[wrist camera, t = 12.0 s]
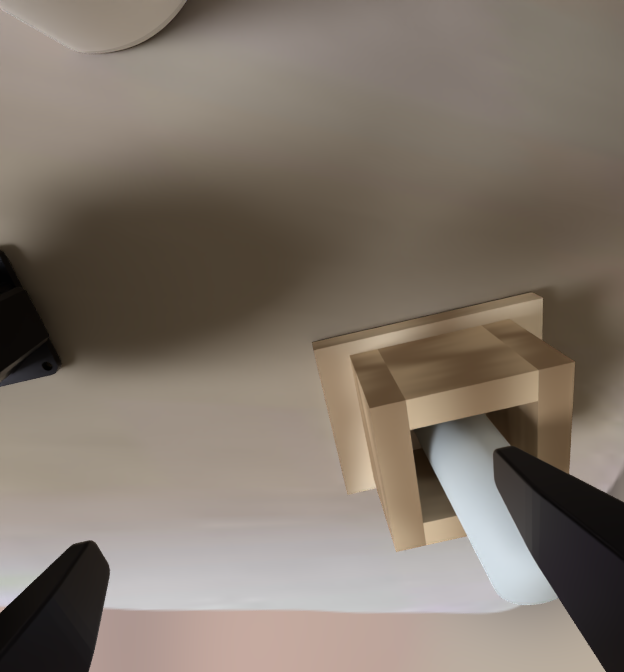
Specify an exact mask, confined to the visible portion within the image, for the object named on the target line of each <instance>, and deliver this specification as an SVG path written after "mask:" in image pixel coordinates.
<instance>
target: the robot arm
mask: <svg viewBox="0 0 624 672" xmlns="http://www.w3.org/2000/svg"><path fill="white" fill-rule="evenodd" d="M46 362H49V363H51V364H52V367H50V366H48V365H47V364H46ZM61 365H62V363H61V360H60V358H59V356H58V354H57V353H56V351H55V349H54V347H53V345H52V343H51V341H50V339H49V334H48V332H47V330H46V328H45V326H44V324H43V323H42V321H41V319H40V317H39V315H38V313H37V311H36V309H35V307H34V305H33V303H32V301H31V299H30V298H29V296H28V294H27V292H26V290H24V289H23V287H22V285H21V283H20V282H19V280H18V278H17V276H16V274H15V272H14V270H13V268H12V266H11V264H10V262H9V260H8V259H7V257H6V255H5V254H4V252H2V251H1V250H0V387H1V386H5V385H9V384H14V383H18V382H23V381H27V380H31V379H36V378H40V377H44V376H49V375H52V374H55V373H56V372H57V371H58V370H59V369H60V368H61ZM493 469H494V481H495V484H496V487H497V489H498V491H499V493H500V495H501V497H502V499H503V501H504V503H505V505H506V507H507V509H508V511H509V513H510V515H511V517H512V519H513V521H514V523H515V525H516V527H517V528H518V530H519V532H520V534H521V536H522V538H523V540H524V542H525V544H526V546H527V548H528V550H529V552H530V554H531V555H532V557H533V559H534V560H535V562H536V564H537V565H538V567H539V568H540V570H541V572H542V573H543V575H544V576H545V578H546V579H547V581H548V582H549V584H550V586H551V587H552V589H553V590H554V592H555V593H556V595H557V596H558V598H559V599H560V601H561V602H562V604H563V606H564V607H565V609H566V610H567V612H568V613H569V615H570V617H571V618H572V620H573V621H574V623H575V624H576V626H577V627H578V629H579V631H580V632H581V634H582V635H583V637H584V638H585V640H586V641H587V643H588V645H589V646H590V647H591V649H592V651H593V652H594V654H595V655H596V657H597V658H598V660H599V662H600V663H601V665H602V666H603V668H604V669H605V671H606V672H624V502H622V501H620V500H619V499H616V498H615V497H613V496H611V495H609V494H607V493H605V492H603V491H601V490H599V489H597V488H595V487H593V486H591V485H589V484H587V483H585V482H583V481H582V480H580V479H578V478H576V477H574V476H572V475H570V474H568V473H566V472H564V471H562V470H560V469H558V468H556V467H554V466H552V465H550V464H548V463H546V462H545V461H543V460H541V459H539V458H537V457H535V456H533V455H531V454H529V453H527V452H525V451H523V450H521V449H519V448H517V447H515V446H506V447H501V448H497V449H495V450H494V452H493ZM109 576H110V569H109V564H108V562H107V561H106V559H105V557H104V556H103V554H102V552H101V551H100V549H99V547H98V546H97V544H96V543H95V542H94V541H90V540H89V541H84V542H80V543H76V544H73V545H72V546H70V547H69V548H68V549H67V550H66V551H65V552H64V553H63V554H62V555H61V556H60V557H59V558H58V559H56V560H55V561H54V562H53V563H52V564H51V565H50V566H49V567H48V568H47V569H46V570H45V571H44V572H43V573H42V574H41V575H40V576H39V577H38V578H36V579H35V580H34V581H33V582H32V583H31V584H30V585H29V586H28V587H27V588H26V589H25V590H24V591H23V592H22V593H21V594H20V595H19V596H18V597H17V598H15V599H14V600H13V601H12V602H11V603H10V604H9V605H8V606H7V607H6V608H5V609H4V610H3V611H2V612H1V613H0V672H89V668H90V665H91V661H92V657H93V654H94V650H95V645H96V641H97V636H98V631H99V626H100V621H101V616H102V611H103V606H104V601H105V596H106V591H107V586H108V581H109Z"/></svg>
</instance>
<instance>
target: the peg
mask: <svg viewBox="0 0 624 672" xmlns="http://www.w3.org/2000/svg"><path fill="white" fill-rule="evenodd" d="M413 430H414V432H415V434H416V436H417V438H418V440H419V442H420V444H421V446H422V448H423V450H424V452H425V454H426V456H427V458H428V460H429V462H430V464H431V466H432V468H433V470H434V472H435V474H436V475H437V477H438V479H439V481H440V483H441V485H442V487H443V489H444V491H445V493H446V495H447V497H448V499H449V501H450V503H451V505H452V507H453V509H454V511H455V513H456V515H457V517H458V519H459V521H460V523H461V525H462V527H463V529H464V530H465V532H466V534H467V536H468V538H469V540H470V542H471V544H472V546H473V548H474V550H475V552H476V554H477V556H478V558H479V560H480V562H481V564H482V566H483V568H484V570H485V572H486V574H487V576H488V578H489V580H490V582H491V584H492V585H493V587H494V589H495V591H496V593H497V594H498V595H499V596H500V597H501V598H503V599H504V600H506V601H508V602H511V603H514V604H520V605H535V604H541V603H546V602H549V601H553V600H555V599H558V596H557V595H556V593H555V592H554V590H553V589H552V587H551V586H550V584H549V582H548V581H547V579H546V578H545V576H544V575H543V573H542V572H541V570H540V568H539V567H538V565H537V564H536V562H535V560H534V559H533V557H532V555H531V554H530V552H529V550H528V548H527V546H526V544H525V542H524V540H523V538H522V536H521V534H520V532H519V530H518V528H517V527H516V525H515V523H514V521H513V519H512V517H511V515H510V513H509V511H508V509H507V507H506V505H505V503H504V501H503V499H502V497H501V495H500V493H499V491H498V489H497V487H496V484H495V481H494V469H493V452H494V450H495V449H497V448H501V447H506V446H511V445H510V444H509V443H508V442H507V440H506V439H505V438H504V437H503V436H502V434H501V433H500V432H499V431H498V429H497V428H496V427H495V426H494V425H493V423H492V422H491V421H490V420H489V419H488V417H487V416H486V415H485V414H484V413H483V414H479V415H474V416H470V417H465V418H461V419H456V420H452V421H448V422H443V423H439V424H434V425H430V426H425V427H421V428H417V429H413Z"/></svg>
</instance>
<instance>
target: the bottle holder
mask: <svg viewBox="0 0 624 672" xmlns="http://www.w3.org/2000/svg"><path fill="white" fill-rule="evenodd" d="M542 328H543V298H542V297H540V296H538V295H536V294H534V293H532V292H530V293H526V294H522V295H517V296H513V297H509V298H504V299H500V300H495V301H491V302H487V303H482V304H478V305H474V306H469V307H465V308H461V309H456V310H452V311H447V312H443V313H439V314H434V315H430V316H426V317H421V318H417V319H412V320H408V321H404V322H399V323H395V324H391V325H386V326H382V327H378V328H373V329H369V330H364V331H360V332H356V333H351V334H347V335H343V336H338V337H334V338H330V339H325V340H321V341H316V342H312V345H313V350H314V354H315V358H316V362H317V367H318V371H319V375H320V379H321V384H322V388H323V392H324V396H325V401H326V405H327V409H328V413H329V418H330V422H331V426H332V430H333V435H334V439H335V443H336V447H337V452H338V456H339V460H340V464H341V469H342V473H343V477H344V481H345V486H346V490H347V494H353V493H357V492H362V491H366V490H371V489H375V488H377V491H378V494H379V498H380V501H381V504H382V507H383V511H384V514H385V517H386V520H387V523H388V527H389V530H390V533H391V536H392V540H393V543H394V546H395V549H396V552H398V551H402V550H407V549H411V548H416V547H420V546H425V545H429V544H434V543H438V542H443V541H447V540H452V539H456V538H461V537H465V536H467V534H466V532H465V530H464V529H463V527H462V525H461V523H460V521H459V519H458V517H457V515H456V513H455V511H454V509H453V507H452V505H451V503H450V501H449V499H448V497H447V495H446V493H445V491H444V489H443V487H442V485H441V483H440V481H439V479H438V477H437V475H436V474H435V472H434V470H433V468H432V466H431V464H430V462H429V460H428V458H427V456H426V454H425V452H424V450H423V448H422V446H421V444H420V442H419V440H418V438H417V436H416V434H415V432H414V430H413V429H417V428H421V427H425V426H430V425H434V424H439V423H443V422H448V421H452V420H456V419H461V418H465V417H470V416H474V415H479V414H483V413H484V414H485V415H486V416H487V417H488V419H489V420H490V421H491V422H492V423H493V425H494V426H495V427H496V428H497V429H498V431H499V432H500V433H501V434H502V436H503V437H504V438H505V439H506V440H507V442H508V443H509V444H510V445H511V446H515V447H517V448H519V449H521V450H523V451H525V452H527V453H529V454H531V455H533V456H535V457H537V458H539V459H541V460H543V461H545V462H546V463H548V464H550V465H552V466H554V467H556V468H558V469H560V470H562V471H564V472H566V473H568V474H569V465H570V447H571V429H572V410H573V392H574V374H575V361H573V360H572V359H570V358H568V357H567V356H565V355H564V354H562V353H561V352H559V351H558V350H556V349H555V348H553V347H552V346H550V345H549V344H547V343H546V342H544V341H543V340H542Z"/></svg>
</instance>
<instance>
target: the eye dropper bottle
mask: <svg viewBox="0 0 624 672" xmlns="http://www.w3.org/2000/svg"><path fill="white" fill-rule="evenodd" d="M186 1H187V0H0V9H1V10H3V11H5V12H6V13H8V14H10V15H11V16H13V17H15V18H17V19H18V20H20V21H22V22H24V23H25V24H27V25H29V26H31V27H32V28H34V29H36V30H38V31H39V32H41V33H43V34H45V35H46V36H48V37H50V38H52V39H53V40H55V41H57V42H59V43H60V44H62V45H64V46H66V47H68V48H69V49H72V50H74V51H77V52H79V53H88V54H97V53H108V52H114V51H119V50H123V49H126V48H129V47H132V46H135V45H137V44H140V43H141V42H143V41H145V40H147V39H149V38H150V37H152V36H154V35H155V34H156V33H158V32H159V31H160V30H161V29H163V28H164V27H165V26H166V25H167V24H168V23H169V22H170V21H171V20H172V19H173V18H174V17H175V16H176V15H177V13H178V12H179V11H180V10H181V8H182V7H183V5H184V4H185V3H186Z"/></svg>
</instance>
